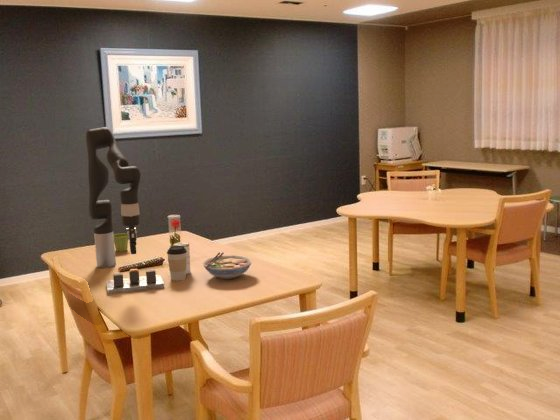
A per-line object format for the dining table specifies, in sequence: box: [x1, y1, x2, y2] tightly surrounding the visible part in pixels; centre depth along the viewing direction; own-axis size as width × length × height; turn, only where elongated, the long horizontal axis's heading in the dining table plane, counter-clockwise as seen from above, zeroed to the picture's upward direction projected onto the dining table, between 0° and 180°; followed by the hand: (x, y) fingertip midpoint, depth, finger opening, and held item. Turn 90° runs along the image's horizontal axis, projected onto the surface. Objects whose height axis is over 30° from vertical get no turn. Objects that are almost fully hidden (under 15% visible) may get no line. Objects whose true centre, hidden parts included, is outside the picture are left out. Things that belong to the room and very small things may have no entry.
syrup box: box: [172, 241, 192, 275], centre depth 280 cm, size 6×6×14 cm
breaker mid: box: [128, 268, 140, 283], centre depth 263 cm, size 2×4×6 cm, turn 108°
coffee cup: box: [166, 245, 187, 281], centre depth 273 cm, size 9×9×15 cm
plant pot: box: [113, 233, 129, 253], centre depth 327 cm, size 9×9×9 cm
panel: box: [106, 274, 165, 296], centre depth 263 cm, size 14×24×2 cm, turn 108°
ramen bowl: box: [202, 252, 253, 280], centre depth 273 cm, size 25×23×8 cm
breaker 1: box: [112, 272, 124, 287], centre depth 258 cm, size 2×4×5 cm, turn 108°
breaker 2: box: [145, 269, 157, 283], centre depth 262 cm, size 2×4×5 cm, turn 108°
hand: (133, 252), depth 254 cm, fingers open, 3 cm apart
